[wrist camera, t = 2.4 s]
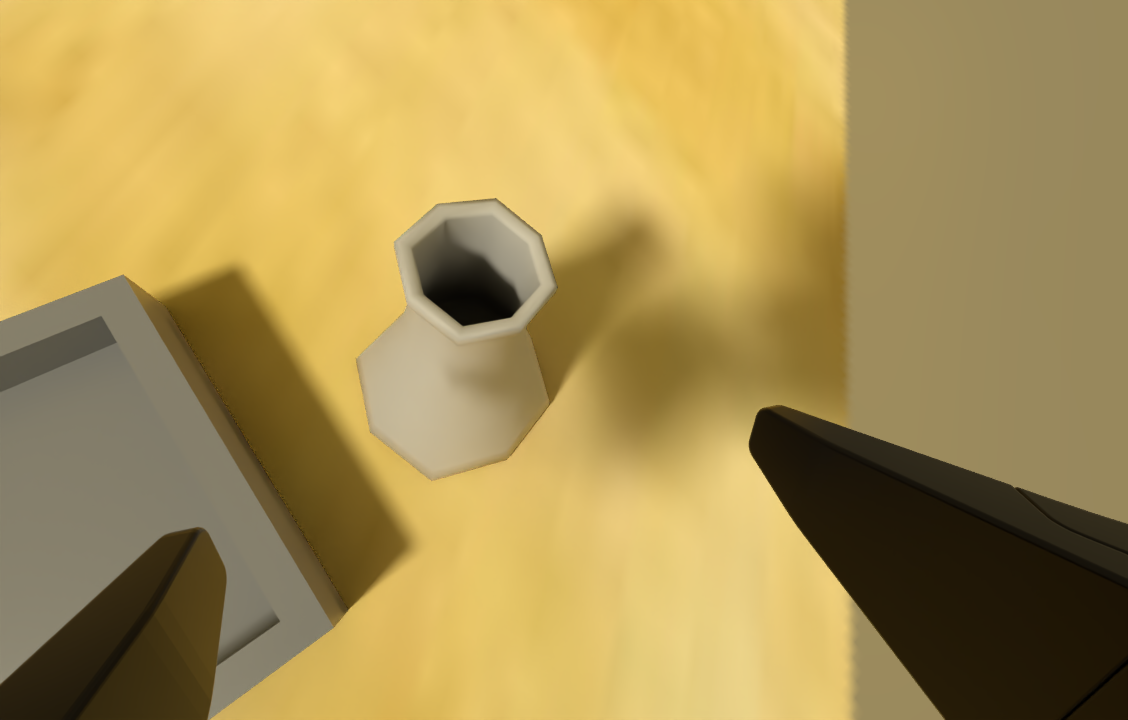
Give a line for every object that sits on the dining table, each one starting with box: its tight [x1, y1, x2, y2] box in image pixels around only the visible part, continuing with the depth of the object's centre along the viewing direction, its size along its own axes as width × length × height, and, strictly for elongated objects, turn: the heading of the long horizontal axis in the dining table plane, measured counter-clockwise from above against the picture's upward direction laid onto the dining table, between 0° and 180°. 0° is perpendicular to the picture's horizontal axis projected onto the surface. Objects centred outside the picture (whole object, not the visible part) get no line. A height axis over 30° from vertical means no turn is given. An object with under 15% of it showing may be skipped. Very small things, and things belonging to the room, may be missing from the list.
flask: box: [356, 198, 558, 481], centre depth 14 cm, size 7×7×10 cm
